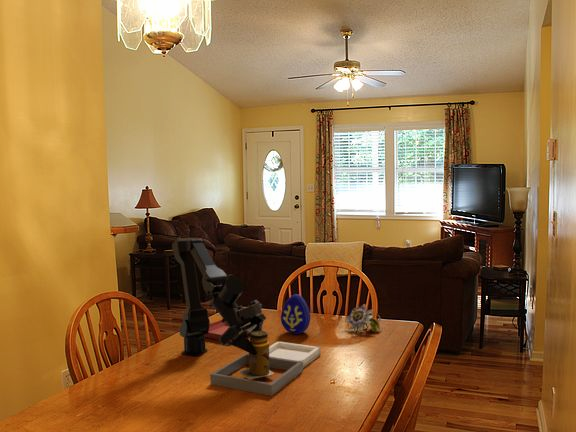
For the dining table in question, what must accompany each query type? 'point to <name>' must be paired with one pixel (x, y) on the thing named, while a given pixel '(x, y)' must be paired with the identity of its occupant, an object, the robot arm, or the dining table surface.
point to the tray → (294, 352)
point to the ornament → (295, 315)
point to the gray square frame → (270, 389)
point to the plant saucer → (217, 330)
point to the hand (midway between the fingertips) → (261, 351)
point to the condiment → (258, 356)
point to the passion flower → (362, 319)
